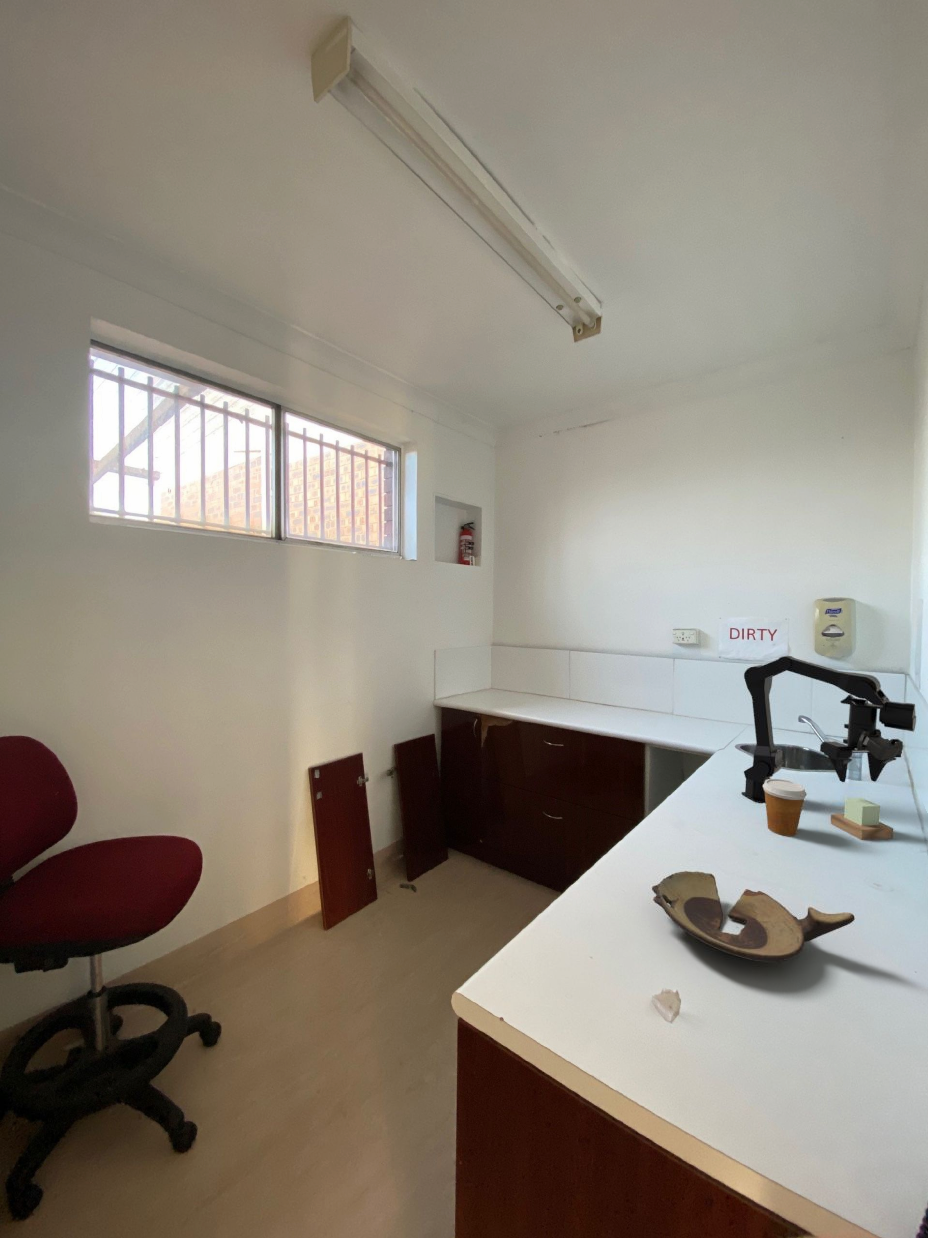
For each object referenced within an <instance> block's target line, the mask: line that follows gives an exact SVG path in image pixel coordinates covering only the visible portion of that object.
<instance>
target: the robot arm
mask: <svg viewBox="0 0 928 1238" xmlns="http://www.w3.org/2000/svg"><path fill="white" fill-rule="evenodd" d="M786 671H788V672H790V673H794V674H797V675H800V676H803V677H807V678H810V679H813V680H817V681H821V682H823V683H827V684H829V685H832V686H834V687H837V688H838V689H840V690H842V691H844V692H845V693H847V696H846V697H845V698H843V699H842V700H840V702H839V703H840V704H843V705H849V711H848V722H847V723H844V724H843V728H844V729H847V739H846V738H843V740H842V743H840V742H837V741H823V742H821V743H820V744H819V745H820V750H819V752H821V753H823V754H824V755H825V756H826V757H828V759H829V761H830V763H831V765H832V767H833V768H834V771H835V773H836V775H837V777H838V779H839V781H840V782H842V783H845V782H846V779H847V773H848V771H847V770H848V764H850V762H852V761H853V759H852V758H851V757H852V756H853V754H867V762H868V771H869V772H868V773H869V776H870V781H872V782H874V783H875V782H877V781H878V780H879V779H878V778H879V777H880V775H881V773H882V771H883V770H884V768H885V767H886V765H887V764H889V763H891V762H893V761H897V758H902V754H903V749H904V747H903V746H904V744H903V741H901V740H900V739H898V738H891V739H889V738H884V737H882V731H881V729H880V728H877V718H878V722H879V723H881V725H883V726H884V728H890V729H896V730H901V731H902V730H903V731H908V732H913V733H914V732H915V729H916V723H917V715H916V704H915V703H912V702H911V703H910V702H899V701H891V700H890V699H889V697H888V696H887V695H886V694H885V693H884V691H883V690H882V688H881V687H882V685H881V682H880V680H879V679H878V678H877V677H875V676H874V675H871V674H867V673H859V672H853V671H852V672H851V671H841V670H837V669H833V668H830V667H826V666H824V665H820V664H817V663H813V662H810V661H806V660H802V659H799V658H795V657H794V656H791V655H785V656H780V657H779V658H777V659H775V660H773V661H771V662H768V663H766V664H764V665H763V664H759V665H754V666H751V667H748V668H746V670H745V671H744V673H743V679H744V681H745V685H746V688H747V690H748V692H749V694H750V696H751V700H752V711H753V712H752V713H753V720H754V721H753V722H754V730H755V731H754V732H755V733H754V734H755V741H756V743H755V744H756V745H755V747H754V748H755V749H754V753H753V758H752V759H753V760H752V766H750V767H748V768H747V769H746V770H744V771H743V774H744V777H745V787H744V788H745V791H741V795H742V796H744V797H746V798H748V799H750V801H753V802H755V803H766V801H765V791H764V788H763V784H764V783H765V781H766V780H767V779H772V777H773V776H774V775H775V774H776V773H778V772H779V771H781V769H782V766H783V765H784V764H785V762H784V760H783V749H777V747H776V745H775V743H774V742H775V741H774V733H773V722H772V714H771V712H772V711H771V702H770V693H771V690H772V686H773V677H775V676H777V675H779V674H782V673H785V672H786ZM878 710H879V713H878Z"/></svg>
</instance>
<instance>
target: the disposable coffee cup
mask: <svg viewBox="0 0 928 1238" xmlns="http://www.w3.org/2000/svg"><path fill="white" fill-rule="evenodd" d="M763 788H764V791H765V801H766V802H765V808H766V809H765V811H766V813H765V814H766V824H767V829H768V830H769V831H770V832H771V833H774V834H777V835H780V836H785V837H794V836H796V835H798V834H797V832H798V829H799V824H800V819H801V815H802V809H803V805H804V799H806V796H807V794H808V793H807V792H806V789H805V786H803V785H801V784H800V783H797V782H794V781H791V780H787V779H782V778H771V779H767V780H766V781H765V783H764V784H763Z"/></svg>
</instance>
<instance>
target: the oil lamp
mask: <svg viewBox="0 0 928 1238" xmlns="http://www.w3.org/2000/svg"><path fill="white" fill-rule="evenodd" d="M651 890H652V892H653V893H654V894H655V896H654V897H653V898H652V900H653V902H654V903H655V904H656V905H658V906H659V907H661V908H662V910H663V911H664V913H665V914H666V915H667V916H668V917H669V918H670V920H671V921H673V923H675V924H676V925H677V926H678V927H679V928H680V929H682V930H683V931H684V932H685V933H688V935H690V936H692V937H693V938H696V939H697V940H699V941H701V942H703V943H704V944H706V945H708V946H710V947H713V948H715V949H717V950H719V951H722V952H723V953H727V954H730V955H732V956H737V957H739V958H743V959H746V960H750V961H756V962H766V963H776V962H783V961H787V960H790V959H792V958H794V957H796V956H797V955H799V953H801V952H802V950H803V948H804V946H805V943H807V942H810V941H814V939H817V938H819V937H822V936H824V935H826V934H829V933H831V932H833V931H836V930H839V929H841V928H844V927H845V926H848V925H851V924H852V923H853V922H854V921H855V919H856V918H855V915H854V914H853V913H851V912H839V913H826V912H822V911H819V910H818V909H816V908H813V907H811V906H808V908H807V915H806V916H805V917H804V918H801V919H800V918H799V919H798V917H797V916H795V915H793V914H792V913H791V912H790V910H788V909H787V908H786V907H785V906H784V905H782V904H781V903H780V902H779V901H778V900H776V899H774V898H773V897H772V896H770V895H768V894H767V893H765V892H763V891H761V890H758V891H753V890H751V889H749V888H746V889H745V890H744V891H743V893H742V894H741V896H740V898H739V899H738V900H736V902H735V904H734V905H733V906H732V908H731V909H730V910H729V911H728V913H727V914H726V915H727V918H729V919H730V920H733V921H735V922H739V923H746V924H745V925H744V927H743V928H742V929H740V932H739V933H738V934H735V933H729V932H723V931H720V930H719V929H720V927H721V926H722V925H723V922H724V921H723V920H724V913H723V907H722V904H721V899H720V896H719V891H718V887H717V882H716V877H715V876H714V875H713V874H712V873H706V872H702V871H701V872H700V871H687V870H684V871H677V872H674V873H672V874H670V875H668V876H666V877H664V878H663V879H662V880H661V881H660V882H659V883H658V884H655V885H652V886H651ZM736 928H739V927H738V926H736Z"/></svg>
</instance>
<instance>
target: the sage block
mask: <svg viewBox="0 0 928 1238" xmlns="http://www.w3.org/2000/svg"><path fill="white" fill-rule="evenodd" d="M880 809H881V805H879V804H876V803H875V802H872V801H871V800H868V799H866V798H863V797H852V798H845V800H844V813H843V814H844V817H845V818H847V819H849V820H851V821H853V822H855V823H857V824H859V825H861V826H869V825H879V822H880V811H881V810H880Z"/></svg>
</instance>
